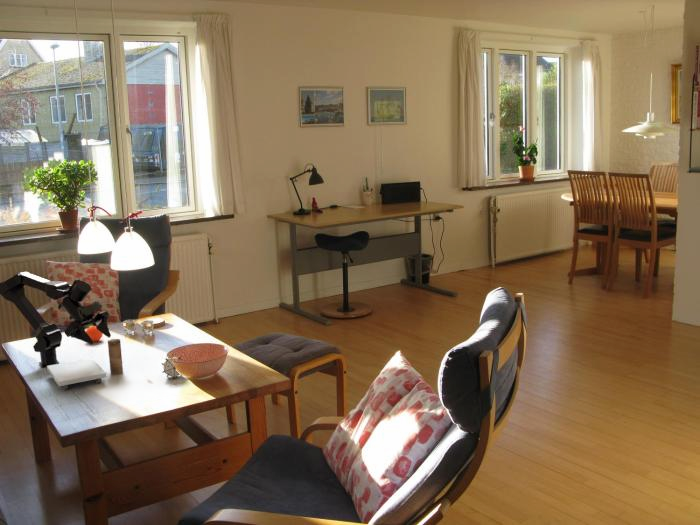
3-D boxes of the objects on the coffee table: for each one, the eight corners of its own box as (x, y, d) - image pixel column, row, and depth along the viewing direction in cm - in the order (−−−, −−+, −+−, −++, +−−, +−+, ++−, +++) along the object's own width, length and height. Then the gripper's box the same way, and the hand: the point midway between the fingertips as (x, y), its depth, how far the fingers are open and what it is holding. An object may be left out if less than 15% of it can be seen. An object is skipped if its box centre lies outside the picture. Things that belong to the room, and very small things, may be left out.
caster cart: (48, 376, 263) (46, 365, 263) (92, 367, 272) (91, 357, 271) (59, 393, 245) (58, 382, 244) (107, 383, 253) (106, 372, 253)
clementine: (80, 343, 306) (79, 327, 305) (91, 338, 313) (89, 322, 311) (96, 344, 304) (95, 327, 302) (106, 339, 310) (105, 323, 309)
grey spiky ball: (172, 388, 257) (155, 372, 251) (170, 374, 264) (154, 357, 258) (193, 376, 257) (177, 359, 251) (191, 361, 264) (175, 344, 258)
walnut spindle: (109, 372, 266) (106, 340, 263) (121, 370, 268) (118, 338, 266) (112, 375, 262) (109, 343, 260) (124, 373, 264) (121, 340, 262)
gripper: (67, 301, 256) (94, 333, 253) (103, 290, 273) (129, 320, 270) (52, 320, 260) (79, 352, 258) (89, 309, 277) (114, 338, 275)
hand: (101, 340), depth 265 cm, fingers open, 9 cm apart
